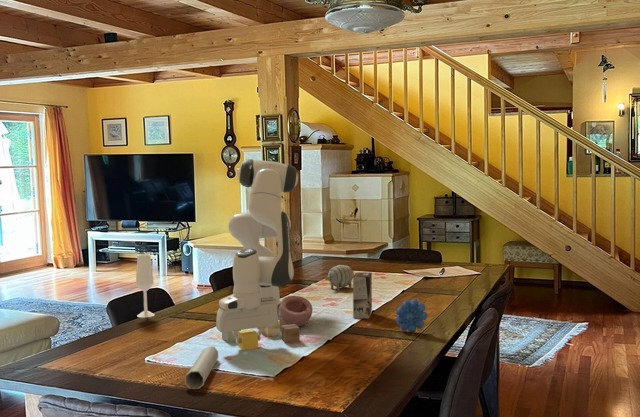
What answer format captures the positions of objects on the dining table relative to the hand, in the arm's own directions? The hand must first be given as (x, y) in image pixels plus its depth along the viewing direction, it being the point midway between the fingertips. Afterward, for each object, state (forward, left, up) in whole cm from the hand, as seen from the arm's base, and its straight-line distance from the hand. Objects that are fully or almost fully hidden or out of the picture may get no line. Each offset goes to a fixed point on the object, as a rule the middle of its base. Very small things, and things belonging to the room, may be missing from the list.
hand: (248, 341), depth 206 cm
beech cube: (-11, +12, -2) cm, 16 cm away
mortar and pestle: (-16, +24, -2) cm, 29 cm away
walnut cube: (0, +15, -2) cm, 15 cm away
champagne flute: (-58, -22, -2) cm, 62 cm away
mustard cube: (0, 0, -2) cm, 2 cm away
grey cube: (-11, -2, -2) cm, 11 cm away
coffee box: (-18, +53, -2) cm, 56 cm away
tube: (+17, -20, -2) cm, 26 cm away
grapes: (+10, +57, -2) cm, 58 cm away
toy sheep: (-66, +68, -2) cm, 95 cm away
